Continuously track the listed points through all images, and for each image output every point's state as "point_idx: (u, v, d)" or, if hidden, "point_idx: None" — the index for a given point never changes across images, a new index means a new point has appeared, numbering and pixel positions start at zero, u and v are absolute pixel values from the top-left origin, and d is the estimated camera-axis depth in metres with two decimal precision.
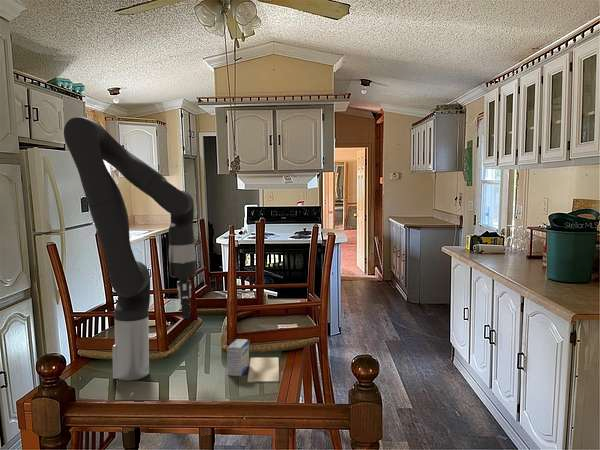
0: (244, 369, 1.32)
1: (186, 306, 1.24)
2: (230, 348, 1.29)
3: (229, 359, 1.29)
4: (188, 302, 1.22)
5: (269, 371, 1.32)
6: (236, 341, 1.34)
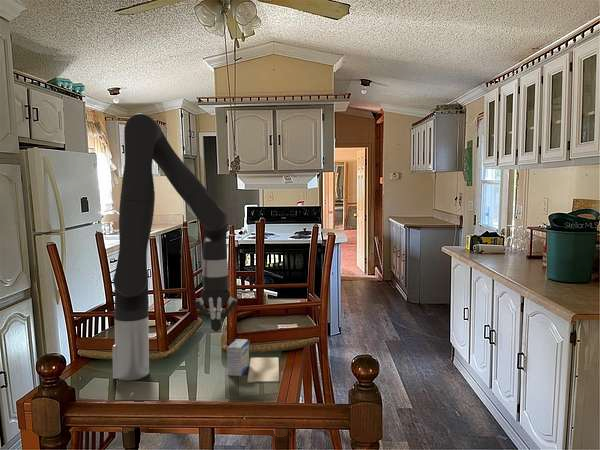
0: (244, 369, 1.32)
1: None
2: (230, 348, 1.29)
3: (229, 359, 1.29)
4: None
5: (269, 371, 1.32)
6: (236, 341, 1.34)
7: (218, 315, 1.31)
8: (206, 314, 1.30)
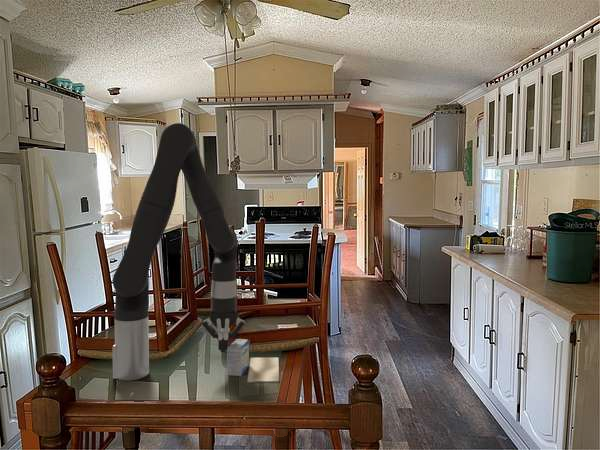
0: (244, 369, 1.32)
1: None
2: (230, 348, 1.29)
3: (229, 359, 1.29)
4: None
5: (269, 371, 1.32)
6: (236, 341, 1.34)
7: (225, 336, 1.31)
8: (214, 335, 1.31)
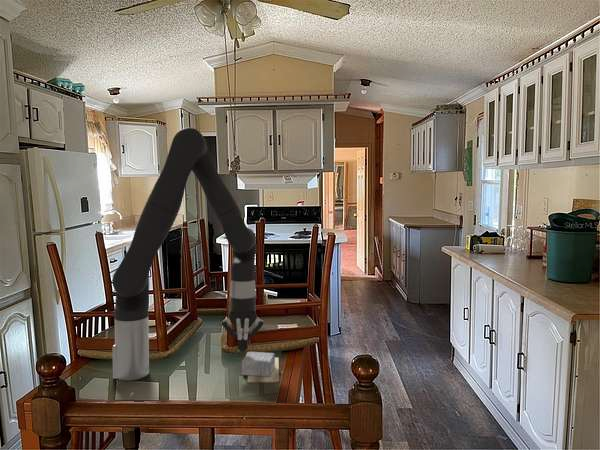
0: None
1: (247, 339, 1.33)
2: (268, 366, 1.28)
3: (257, 364, 1.28)
4: None
5: None
6: (273, 359, 1.33)
7: (245, 336, 1.31)
8: (233, 335, 1.31)
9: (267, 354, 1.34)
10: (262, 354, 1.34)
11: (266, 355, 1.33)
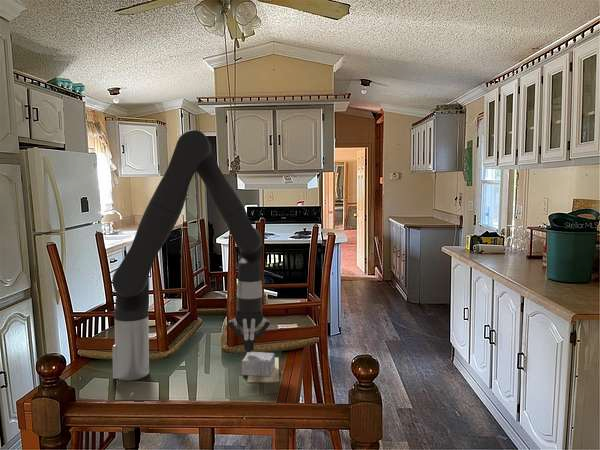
0: None
1: None
2: (268, 366, 1.28)
3: (257, 364, 1.28)
4: None
5: None
6: (273, 359, 1.33)
7: (251, 336, 1.32)
8: (239, 335, 1.31)
9: (267, 354, 1.34)
10: (262, 354, 1.34)
11: (266, 355, 1.33)
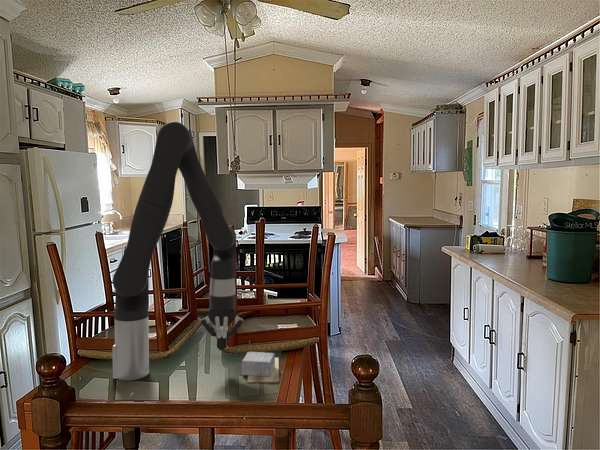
0: None
1: None
2: (268, 366, 1.28)
3: (257, 364, 1.28)
4: None
5: None
6: (273, 359, 1.33)
7: (224, 334, 1.31)
8: (212, 333, 1.31)
9: (267, 354, 1.34)
10: (262, 354, 1.34)
11: (266, 355, 1.33)
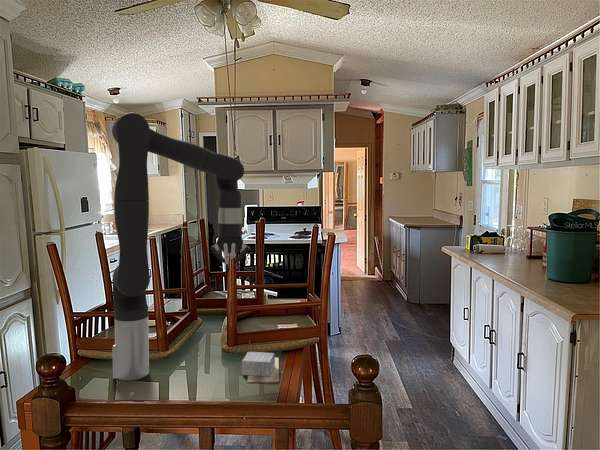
0: None
1: None
2: (268, 366, 1.28)
3: (257, 364, 1.28)
4: None
5: None
6: (273, 359, 1.33)
7: None
8: (221, 259, 1.41)
9: (267, 354, 1.34)
10: (262, 354, 1.34)
11: (266, 355, 1.33)
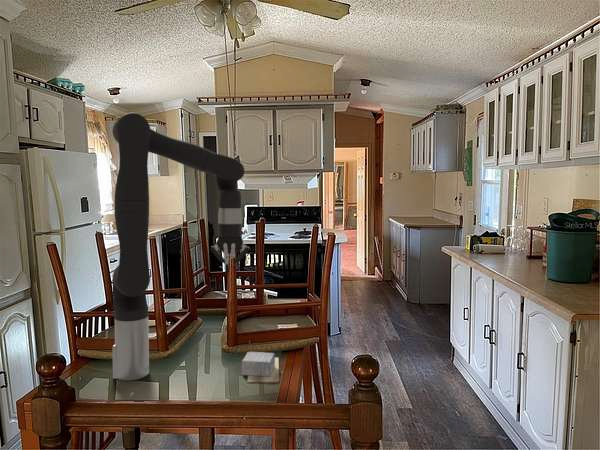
0: None
1: None
2: (268, 366, 1.28)
3: (257, 364, 1.28)
4: None
5: None
6: (273, 359, 1.33)
7: None
8: (221, 259, 1.41)
9: (267, 354, 1.34)
10: (262, 354, 1.34)
11: (266, 355, 1.33)
